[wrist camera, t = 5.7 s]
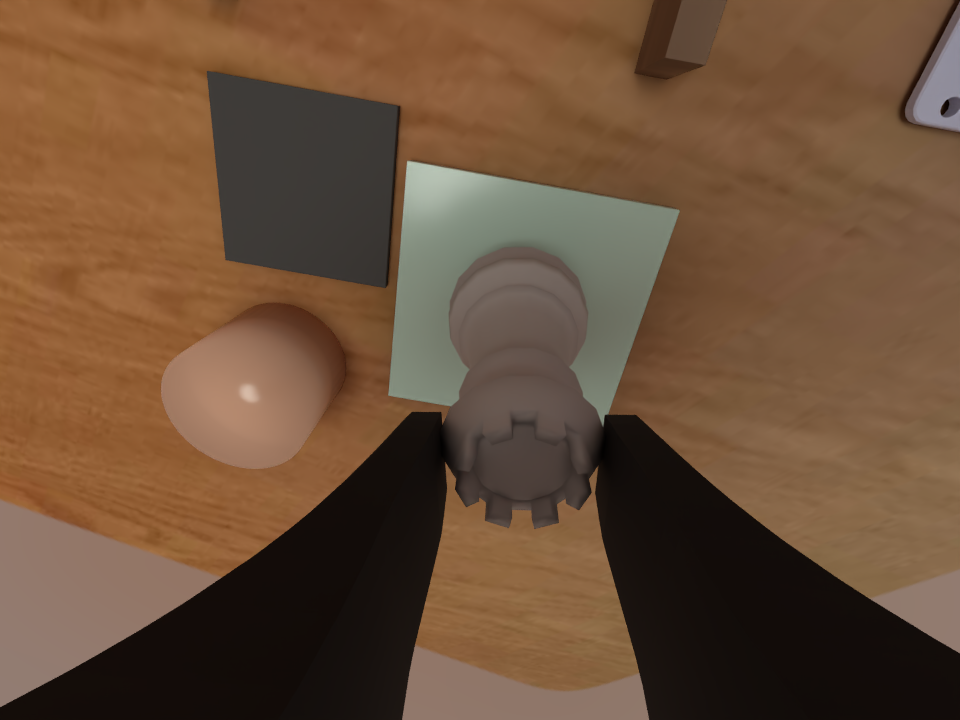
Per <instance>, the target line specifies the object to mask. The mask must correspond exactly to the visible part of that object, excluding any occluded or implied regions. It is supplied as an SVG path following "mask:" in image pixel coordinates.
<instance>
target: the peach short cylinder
mask: <svg viewBox="0 0 960 720" xmlns="http://www.w3.org/2000/svg"><path fill="white" fill-rule="evenodd" d="M345 375H346V361H345V356H344V353H343V350H342V347H341V345H340V343H339V341H338V340H337V338H336V337H335V335H334V334H333V332H332V331H331V330H330V329H329V328H328V327H327V326H326V325H325V324H324V323H323V322H322V321H321V320H319V319H318V318H317V317H315V316H314V315H312V314H311V313H309V312H307V311H305V310H303V309H301V308H298V307H295V306H292V305H288V304H283V303H265V304H260V305H256V306H253V307H251V308H249V309H247V310H246V311H244V312H243V313H241V314H240V315H238V316H237V317H235V318H233V319H232V320H230V321H229V322H227V323H226V324H224V325H223V326H221V327H220V328H218V329H217V330H215V331H214V332H212V333H211V334H209V335H208V336H206V337H205V338H203V339H202V340H200V341H199V342H197V343H196V344H194V345H192V346H191V347H189V348H188V349H186V350H185V351H183V352H182V353H180V354H179V355H178V356H176V357H175V358H174V359H173V360H172V361H171V362H170V363H169V365H168V366H167V368H166V370H165V372H164V374H163V378H162V382H161V395H162V401H163V405H164V408H165V410H166V413H167V415H168V417H169V419H170V420H171V422H172V424H173V425H174V426H175V428H176V429H177V430H178V432H179V433H180V434H181V435H182V436H183V437H184V438H185V439H186V440H187V441H188V442H189V443H190V444H191V445H193V446H194V447H195V448H197V449H198V450H199V451H201V452H203V453H204V454H206V455H208V456H209V457H211V458H213V459H215V460H218V461H220V462H223V463H225V464H229V465H232V466H236V467H241V468H249V469H262V468H269V467H274V466H277V465H280V464H282V463H284V462H286V461H288V460H289V459H291V458H292V457H293V456H294V455H295V454H296V453H297V452H298V451H299V450H300V448H301V447H302V446H303V444H304V443H305V441H306V440H307V438H308V437H309V435H310V434H311V432H312V431H313V429H314V428H315V426H316V425H317V423H318V422H319V420H320V419H321V417H322V416H323V414H324V413H325V411H326V410H327V408H328V407H329V405H330V404H331V402H332V401H333V400H334V398H335V397H336V395H337V394H338V392H339V391H340V389H341V387H342V385H343V383H344V379H345Z"/></svg>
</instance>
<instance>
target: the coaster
mask: <svg viewBox="0 0 960 720" xmlns="http://www.w3.org/2000/svg"><path fill="white" fill-rule="evenodd" d="M679 212H680V210H678V209H676V208H673V207H668V206H662V205H657V204H651V203H646V202H640V201H635V200H629V199H624V198H618V197H613V196H607V195H602V194H596V193H591V192H585V191H580V190H574V189H569V188H563V187H557V186H552V185H546V184H541V183H535V182H530V181H524V180H519V179H513V178H508V177H502V176H497V175H491V174H486V173H480V172H475V171H469V170H464V169H458V168H453V167H447V166H441V165H436V164H430V163H425V162H419V161H414V160H409V161H407V171H406V183H405V196H404V208H403V221H402V233H401V246H400V258H399V271H398V283H397V296H396V308H395V321H394V333H393V345H392V358H391V370H390V383H389V395H388V396H394V397H399V398H405V399H411V400H417V401H423V402H429V403H434V404H440V405H446V406H452V405H453V404H454V403H456V402H457V401H458V400H459V390H460V388H461V385H462V383H463V381H464V379H465V376H466V374H467V372H468V371H469V368H468V367H466V366H465V365H464V364H463V363H462V361H461V359H460V357H459V355H458V353H457V351H456V349H455V347H454V346H453V344H452V341H451V339H450V328H449V310H450V300H451V297H452V294H453V291H454V289H455V286H456V283H457V281H458V278H459V277H460V276H461V275H462V274H463V273H464V272H465V271H466V270H467V269H468V268H469V267H470V266H471V265H472V264H473V263H474V262H475V261H476V260H477V259H478V258H480V257H482V256H485V255H487V254H489V253H492V252H494V251H496V250H499V249H501V248H504V247H534V248H536V249H538V250H541V251H543V252H546V253H548V254H551V255H553V256H556V257H558V258H560V259H561V260H562V261H563V262H564V263H565V264H566V266H567V267H568V268H569V269H570V270H571V271H572V272H573V273H574V274H575V275H576V276H577V277H578V279H579V282H580V285H581V288H582V290H583V293H584V296H585V299H586V307H587V310H588V322H587V332H586V339H585V343H584V345H583V346H582V348H581V350H580V352H579V353H578V355H577V357H576V359H575V360H574V362H573V364H572V365H571V366H569V368H570V369H571V370H572V371H574V372H575V374H576V376H577V379H578V381H579V384H580V386H581V389H582V391H583V397H584V398H585V399H586V400H587V401H588V402H589V403H591V404H592V405H593V406H594V407H595V408H596V410H597V412H598V415H599V417H600V420H601V422H602V425H604V417H605V415H608V413H609V410H610V407H611V404H612V401H613V399H614V396H615V393H616V390H617V387H618V384H619V382H620V379H621V376H622V373H623V370H624V367H625V365H626V362H627V359H628V356H629V353H630V350H631V348H632V345H633V342H634V339H635V336H636V333H637V331H638V328H639V325H640V322H641V319H642V316H643V314H644V311H645V308H646V305H647V302H648V299H649V297H650V294H651V291H652V288H653V285H654V282H655V280H656V277H657V274H658V271H659V268H660V265H661V263H662V260H663V257H664V254H665V251H666V248H667V246H668V243H669V240H670V237H671V234H672V231H673V229H674V226H675V223H676V220H677V217H678V214H679Z"/></svg>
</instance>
